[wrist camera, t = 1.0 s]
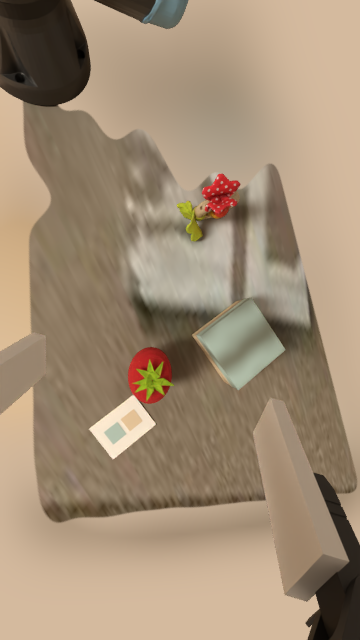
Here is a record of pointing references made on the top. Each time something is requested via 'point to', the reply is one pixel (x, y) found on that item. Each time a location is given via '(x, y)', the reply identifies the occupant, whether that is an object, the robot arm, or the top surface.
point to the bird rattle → (211, 204)
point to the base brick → (239, 342)
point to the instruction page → (122, 426)
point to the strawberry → (150, 375)
